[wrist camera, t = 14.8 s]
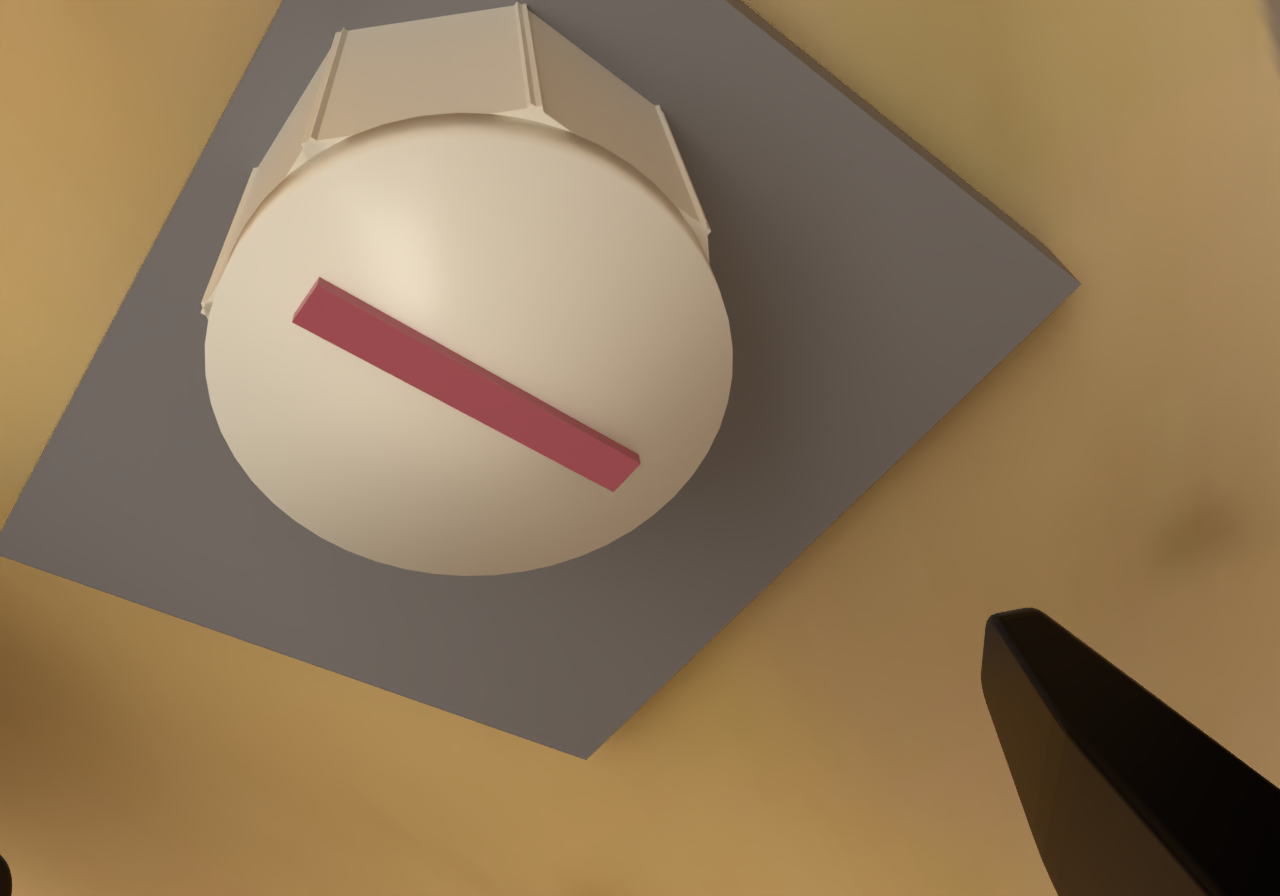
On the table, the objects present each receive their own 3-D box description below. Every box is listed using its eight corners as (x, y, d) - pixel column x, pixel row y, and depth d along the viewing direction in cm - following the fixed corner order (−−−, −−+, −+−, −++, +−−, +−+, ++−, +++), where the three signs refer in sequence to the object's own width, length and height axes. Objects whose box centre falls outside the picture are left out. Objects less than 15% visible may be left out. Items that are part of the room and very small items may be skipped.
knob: (755, 173, 18) (840, 339, 14) (525, 439, 20) (540, 643, 16) (407, -93, 15) (384, 19, 11) (191, 262, 17) (109, 458, 13)
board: (581, 711, 28) (599, 890, 24) (16, 501, 22) (-84, 696, 18) (1046, 247, 21) (1179, 390, 17) (419, -257, 15) (403, -213, 11)
